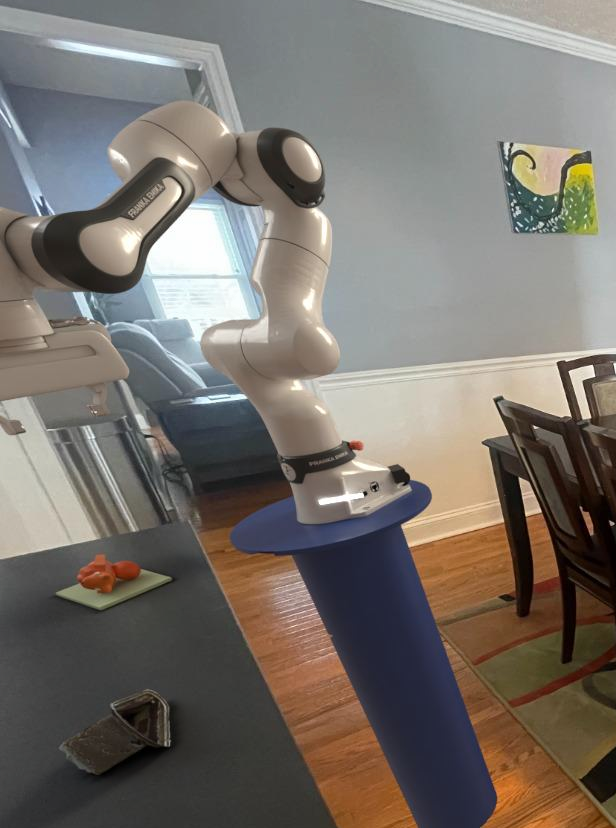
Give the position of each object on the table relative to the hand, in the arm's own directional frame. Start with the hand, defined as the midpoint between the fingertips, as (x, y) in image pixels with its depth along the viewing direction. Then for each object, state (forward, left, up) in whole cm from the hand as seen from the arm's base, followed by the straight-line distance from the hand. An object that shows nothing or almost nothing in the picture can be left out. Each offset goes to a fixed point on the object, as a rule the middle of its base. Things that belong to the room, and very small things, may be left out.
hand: (61, 424), depth 87 cm
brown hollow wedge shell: (+22, +38, -29) cm, 53 cm away
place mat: (+2, -10, -29) cm, 31 cm away
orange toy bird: (+1, -10, -29) cm, 30 cm away
